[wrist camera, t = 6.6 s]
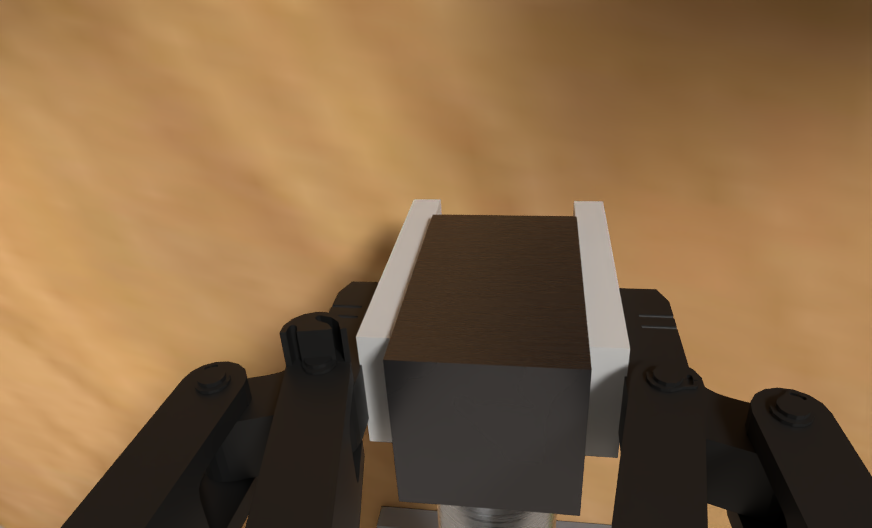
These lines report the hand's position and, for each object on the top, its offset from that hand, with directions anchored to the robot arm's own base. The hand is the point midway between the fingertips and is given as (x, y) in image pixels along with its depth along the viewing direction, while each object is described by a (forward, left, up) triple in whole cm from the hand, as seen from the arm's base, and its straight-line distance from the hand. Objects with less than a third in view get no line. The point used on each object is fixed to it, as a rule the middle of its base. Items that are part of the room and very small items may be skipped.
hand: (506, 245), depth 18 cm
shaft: (+8, -5, +1) cm, 9 cm away
